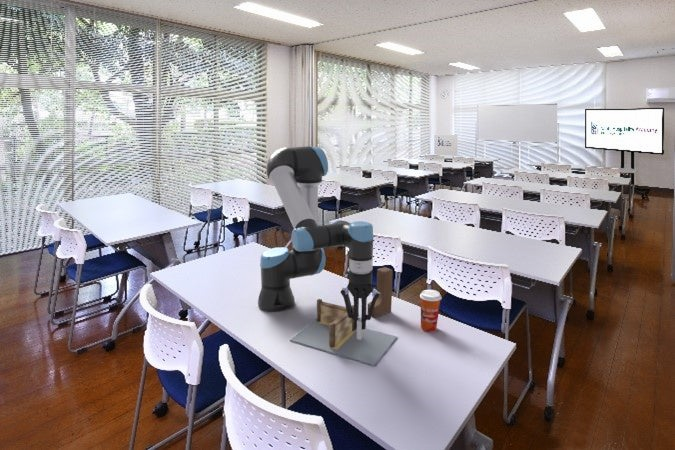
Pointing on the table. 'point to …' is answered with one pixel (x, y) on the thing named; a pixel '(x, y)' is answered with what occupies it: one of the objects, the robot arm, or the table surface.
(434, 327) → the paper cup
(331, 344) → the fence gate
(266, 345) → the table surface
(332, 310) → the fence fixed
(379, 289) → the wooden block
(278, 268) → the robot arm
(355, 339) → the card
